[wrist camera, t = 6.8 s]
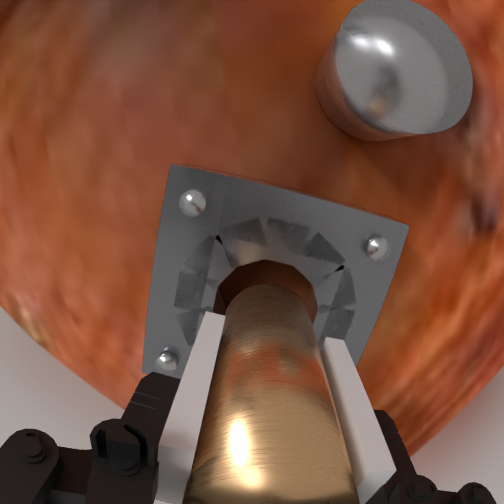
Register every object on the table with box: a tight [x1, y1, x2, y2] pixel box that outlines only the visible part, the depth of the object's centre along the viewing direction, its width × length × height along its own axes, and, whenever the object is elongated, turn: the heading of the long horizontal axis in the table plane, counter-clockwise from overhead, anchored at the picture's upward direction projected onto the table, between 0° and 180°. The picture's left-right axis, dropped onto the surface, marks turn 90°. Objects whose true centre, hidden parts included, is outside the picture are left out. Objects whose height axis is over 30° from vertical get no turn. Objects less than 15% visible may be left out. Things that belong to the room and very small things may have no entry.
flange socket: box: [142, 164, 410, 379], centre depth 17 cm, size 12×12×4 cm
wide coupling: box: [315, 0, 473, 141], centre depth 13 cm, size 6×6×6 cm
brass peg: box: [182, 284, 360, 504], centre depth 10 cm, size 4×4×10 cm
